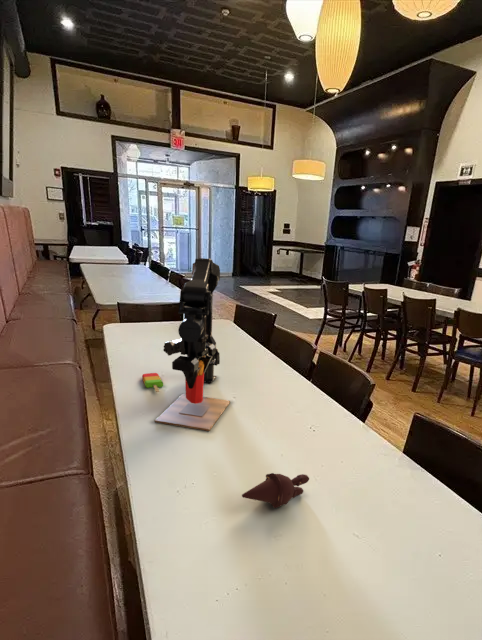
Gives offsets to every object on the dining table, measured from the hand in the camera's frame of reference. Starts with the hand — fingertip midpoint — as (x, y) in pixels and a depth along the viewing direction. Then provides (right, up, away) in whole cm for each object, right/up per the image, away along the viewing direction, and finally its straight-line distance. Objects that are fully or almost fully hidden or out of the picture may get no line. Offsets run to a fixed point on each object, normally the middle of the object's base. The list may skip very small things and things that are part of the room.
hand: (195, 384), depth 120 cm
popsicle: (-18, -1, +19) cm, 26 cm away
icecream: (+23, -25, -34) cm, 48 cm away
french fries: (0, -5, +2) cm, 5 cm away
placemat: (-1, -8, +3) cm, 9 cm away
